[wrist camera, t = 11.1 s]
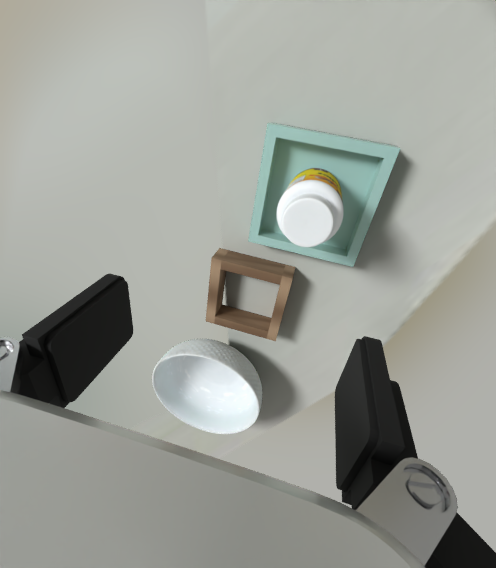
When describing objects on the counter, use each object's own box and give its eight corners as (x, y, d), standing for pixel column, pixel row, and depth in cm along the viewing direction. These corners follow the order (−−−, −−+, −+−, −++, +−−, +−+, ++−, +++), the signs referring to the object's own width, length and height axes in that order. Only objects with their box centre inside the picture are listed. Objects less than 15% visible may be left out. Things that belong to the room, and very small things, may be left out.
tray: (272, 122, 29) (267, 123, 27) (394, 145, 27) (400, 148, 25) (253, 233, 35) (248, 241, 33) (351, 257, 34) (353, 266, 32)
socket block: (219, 248, 37) (211, 257, 35) (295, 267, 36) (292, 278, 33) (213, 309, 43) (205, 321, 40) (278, 327, 41) (275, 341, 39)
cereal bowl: (268, 330, 42) (258, 365, 36) (269, 405, 50) (261, 444, 44) (163, 317, 46) (139, 347, 40) (180, 389, 54) (162, 422, 48)
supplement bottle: (351, 200, 30) (359, 234, 22) (306, 229, 33) (296, 269, 24) (322, 154, 29) (319, 170, 20) (277, 187, 31) (257, 214, 23)
